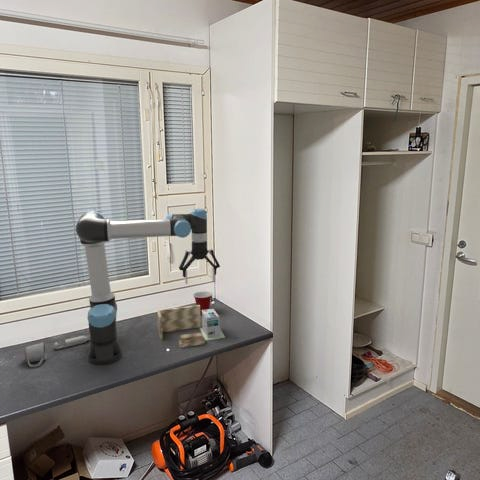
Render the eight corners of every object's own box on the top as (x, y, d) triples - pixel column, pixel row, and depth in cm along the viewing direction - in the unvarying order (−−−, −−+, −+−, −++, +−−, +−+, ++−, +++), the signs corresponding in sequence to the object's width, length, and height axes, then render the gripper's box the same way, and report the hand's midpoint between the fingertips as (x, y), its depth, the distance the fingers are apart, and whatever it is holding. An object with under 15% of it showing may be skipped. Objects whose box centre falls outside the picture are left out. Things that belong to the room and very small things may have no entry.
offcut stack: (180, 347, 199) (179, 338, 198) (178, 343, 203) (178, 334, 202) (204, 344, 203) (204, 335, 201) (202, 340, 207) (202, 331, 206)
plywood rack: (160, 340, 207) (159, 317, 204) (158, 331, 216) (157, 310, 213) (204, 333, 213) (203, 312, 210) (200, 326, 222) (199, 304, 219)
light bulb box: (220, 336, 210) (219, 316, 207) (207, 338, 207) (206, 318, 205) (214, 327, 219) (213, 308, 217) (201, 329, 217) (201, 309, 215)
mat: (205, 340, 206) (205, 339, 206) (199, 328, 219) (199, 327, 219) (225, 337, 209) (225, 337, 208) (218, 326, 222) (218, 325, 221)
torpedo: (55, 352, 196) (53, 339, 195) (53, 348, 200) (51, 335, 199) (94, 342, 206) (93, 329, 204) (92, 338, 210) (90, 326, 208)
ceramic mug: (26, 358, 191) (24, 343, 189) (46, 354, 194) (44, 339, 192) (25, 370, 181) (23, 354, 179) (46, 366, 184) (44, 350, 182)
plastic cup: (208, 308, 245) (208, 288, 242) (215, 315, 236) (215, 295, 233) (191, 311, 241) (190, 291, 238) (197, 318, 231) (196, 298, 228)
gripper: (174, 244, 197) (175, 286, 202) (226, 241, 204) (225, 282, 209) (172, 240, 204) (173, 281, 209) (222, 237, 211) (222, 277, 216)
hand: (199, 282), depth 209 cm, fingers open, 13 cm apart
